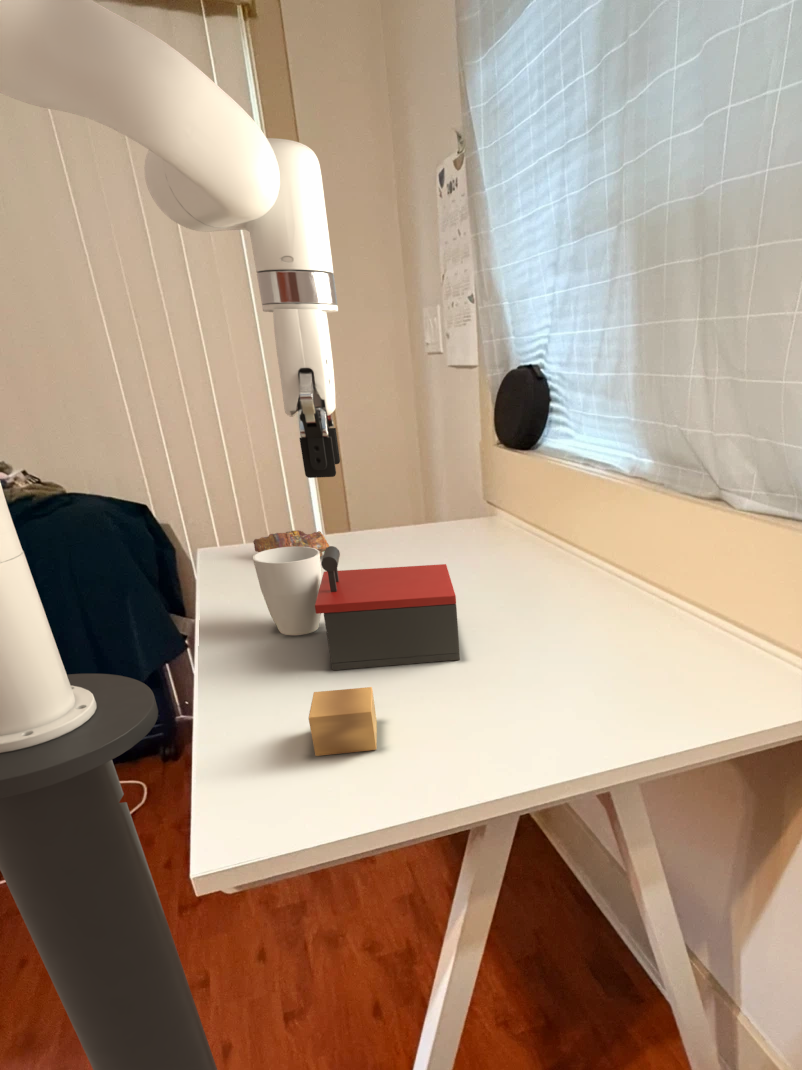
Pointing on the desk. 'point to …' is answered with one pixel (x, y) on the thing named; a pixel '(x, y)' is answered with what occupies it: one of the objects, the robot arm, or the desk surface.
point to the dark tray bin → (392, 636)
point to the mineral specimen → (292, 541)
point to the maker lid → (381, 586)
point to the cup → (290, 587)
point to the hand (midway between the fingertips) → (324, 470)
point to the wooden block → (343, 721)
